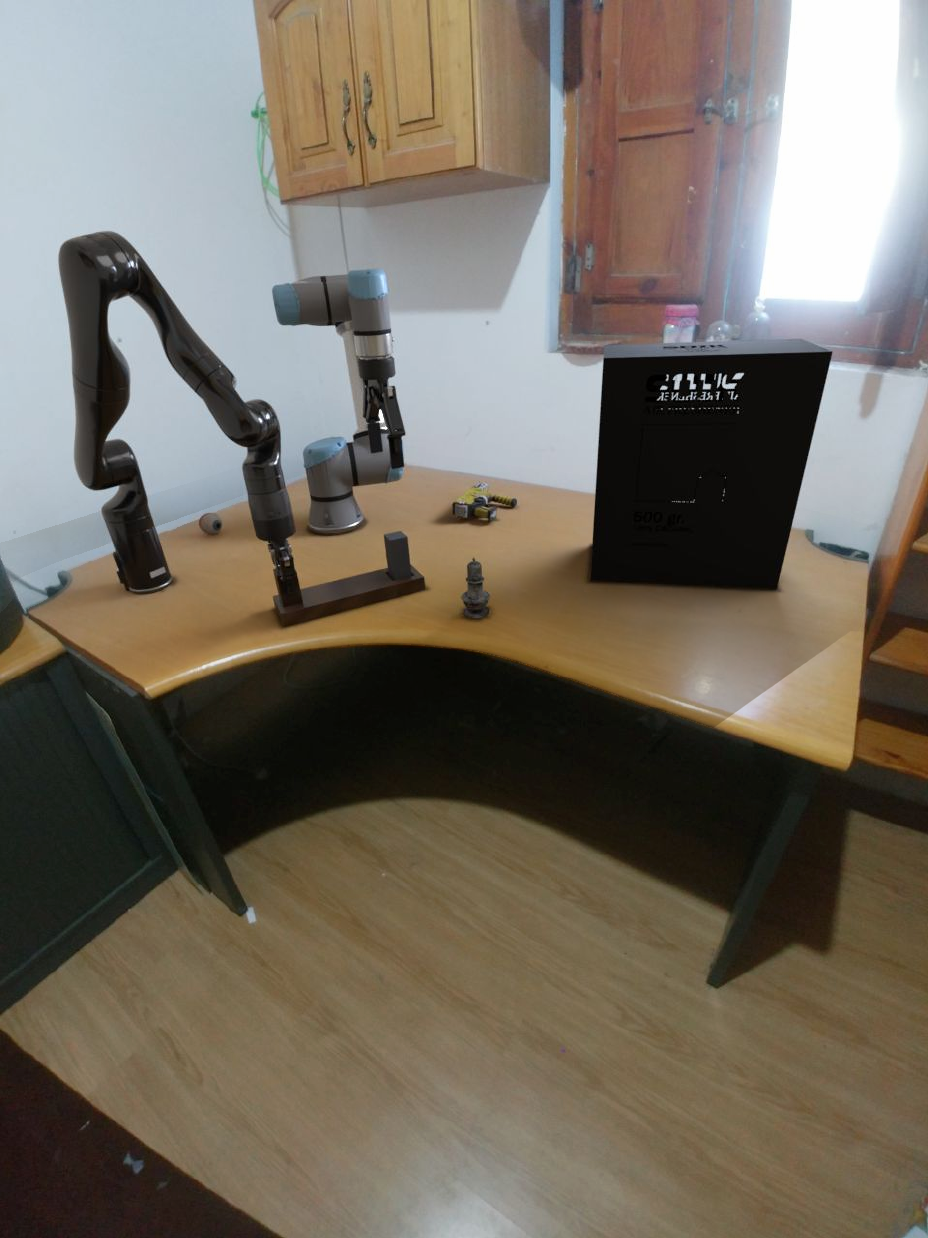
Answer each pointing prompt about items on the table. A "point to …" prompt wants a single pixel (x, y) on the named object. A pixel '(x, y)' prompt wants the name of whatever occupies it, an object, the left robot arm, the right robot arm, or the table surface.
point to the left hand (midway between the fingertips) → (289, 591)
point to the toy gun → (479, 503)
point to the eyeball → (210, 523)
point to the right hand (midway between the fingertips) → (387, 459)
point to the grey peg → (397, 555)
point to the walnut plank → (341, 594)
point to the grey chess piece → (475, 592)
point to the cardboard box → (703, 460)
